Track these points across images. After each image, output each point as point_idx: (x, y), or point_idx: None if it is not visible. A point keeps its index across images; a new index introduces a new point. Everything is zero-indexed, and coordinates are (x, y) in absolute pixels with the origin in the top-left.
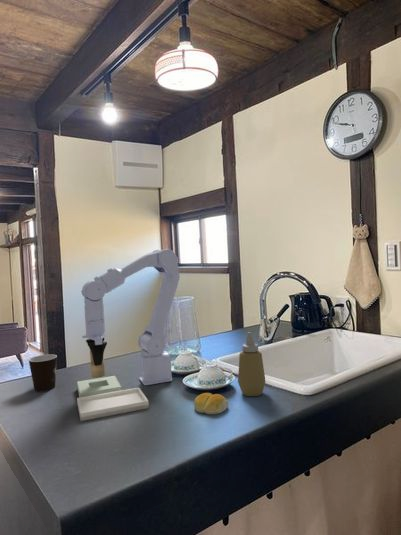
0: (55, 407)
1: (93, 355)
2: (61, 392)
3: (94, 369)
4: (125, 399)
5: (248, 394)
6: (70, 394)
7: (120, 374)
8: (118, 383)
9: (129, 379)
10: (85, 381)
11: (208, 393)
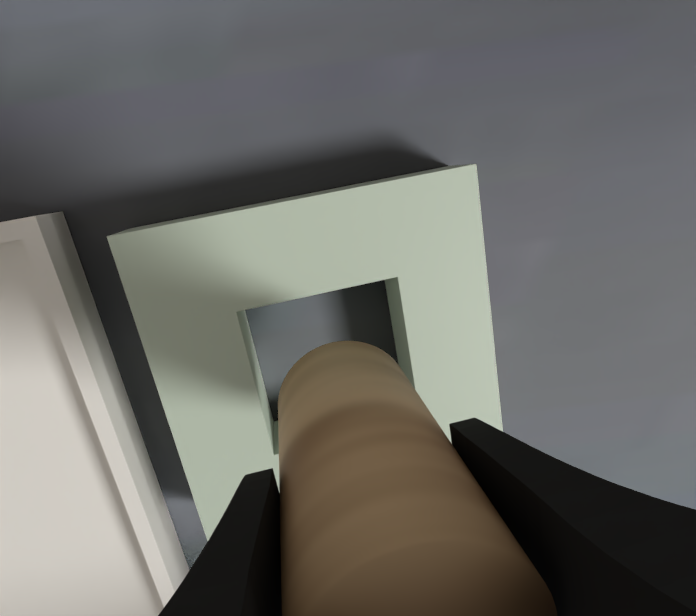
0: (37, 16)
1: (175, 608)
2: (421, 24)
3: (286, 424)
4: (31, 564)
5: None
6: (341, 117)
7: (654, 450)
8: None
9: None
10: (448, 244)
11: None
